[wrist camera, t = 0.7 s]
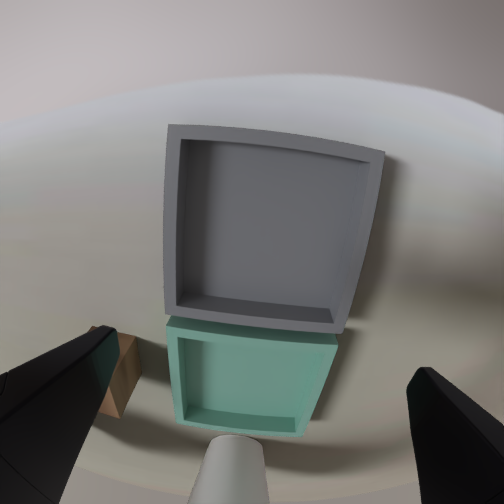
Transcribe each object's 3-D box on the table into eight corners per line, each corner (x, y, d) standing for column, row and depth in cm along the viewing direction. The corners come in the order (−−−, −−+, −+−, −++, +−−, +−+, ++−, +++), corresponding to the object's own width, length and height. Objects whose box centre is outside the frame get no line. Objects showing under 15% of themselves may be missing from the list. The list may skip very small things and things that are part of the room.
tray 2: (181, 404, 26) (176, 423, 24) (175, 307, 22) (165, 325, 19) (300, 417, 26) (302, 436, 24) (332, 325, 21) (338, 345, 19)
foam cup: (208, 418, 27) (187, 528, 14) (289, 437, 27) (292, 540, 15) (189, 452, 30) (170, 538, 18) (257, 468, 31) (253, 551, 19)
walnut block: (101, 361, 25) (75, 403, 19) (92, 325, 23) (60, 367, 18) (141, 372, 25) (120, 418, 19) (136, 336, 23) (108, 383, 17)
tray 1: (175, 295, 21) (165, 314, 19) (180, 126, 17) (168, 124, 14) (335, 314, 21) (342, 333, 19) (370, 149, 17) (385, 151, 14)
